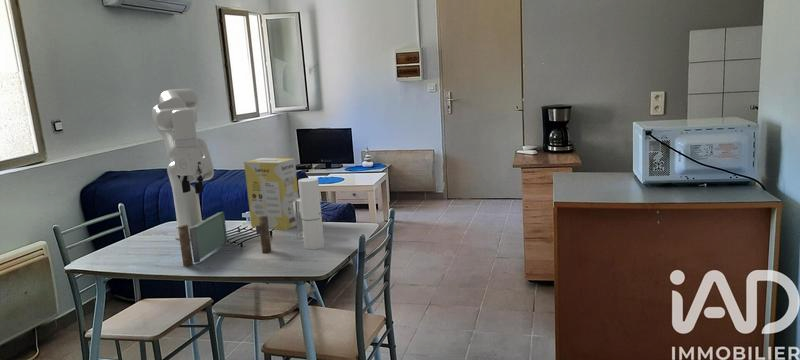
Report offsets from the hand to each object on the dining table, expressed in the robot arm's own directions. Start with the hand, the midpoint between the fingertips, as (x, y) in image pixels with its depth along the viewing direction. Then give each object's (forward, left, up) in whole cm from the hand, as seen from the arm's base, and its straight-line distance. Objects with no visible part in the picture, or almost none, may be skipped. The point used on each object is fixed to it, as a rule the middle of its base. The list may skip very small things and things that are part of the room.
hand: (193, 192), depth 211 cm
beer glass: (+22, +32, -23) cm, 45 cm away
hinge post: (+11, -12, -23) cm, 28 cm away
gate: (+7, 0, -22) cm, 23 cm away
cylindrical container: (+35, +25, -23) cm, 49 cm away
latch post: (+24, +12, -23) cm, 35 cm away
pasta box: (-3, +38, -23) cm, 44 cm away
